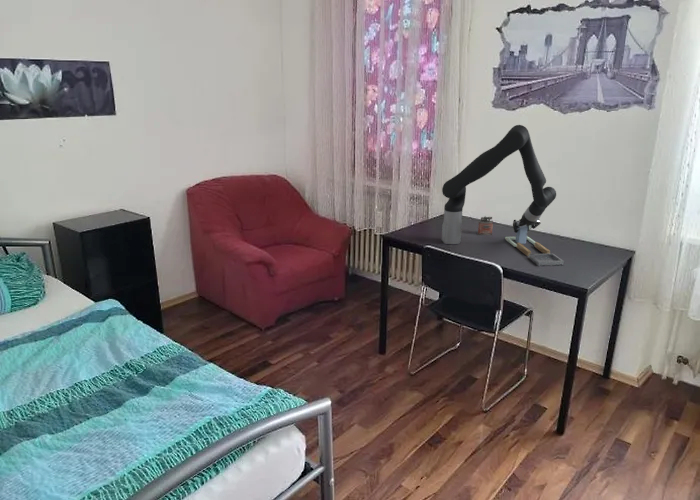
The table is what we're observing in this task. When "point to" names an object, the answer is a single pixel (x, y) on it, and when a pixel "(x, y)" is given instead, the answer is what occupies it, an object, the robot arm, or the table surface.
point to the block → (521, 235)
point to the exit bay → (515, 239)
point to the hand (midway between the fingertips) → (520, 231)
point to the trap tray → (546, 259)
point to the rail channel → (537, 245)
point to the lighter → (485, 226)
